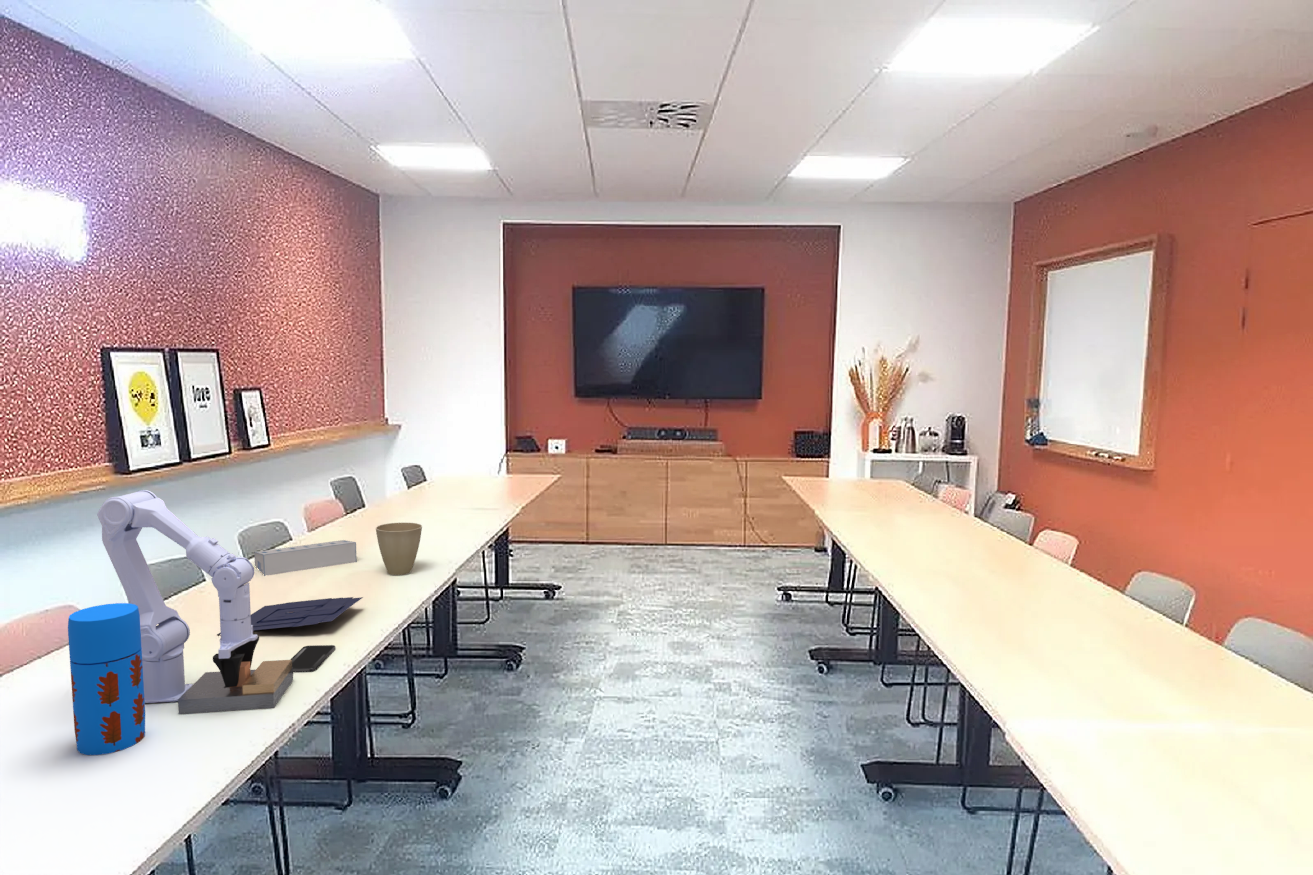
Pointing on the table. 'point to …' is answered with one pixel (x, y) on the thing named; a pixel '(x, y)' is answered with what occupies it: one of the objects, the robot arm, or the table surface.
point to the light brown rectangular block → (244, 673)
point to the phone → (311, 657)
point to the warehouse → (305, 557)
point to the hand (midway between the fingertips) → (238, 678)
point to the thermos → (107, 678)
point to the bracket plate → (238, 690)
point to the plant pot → (399, 546)
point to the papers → (300, 613)
